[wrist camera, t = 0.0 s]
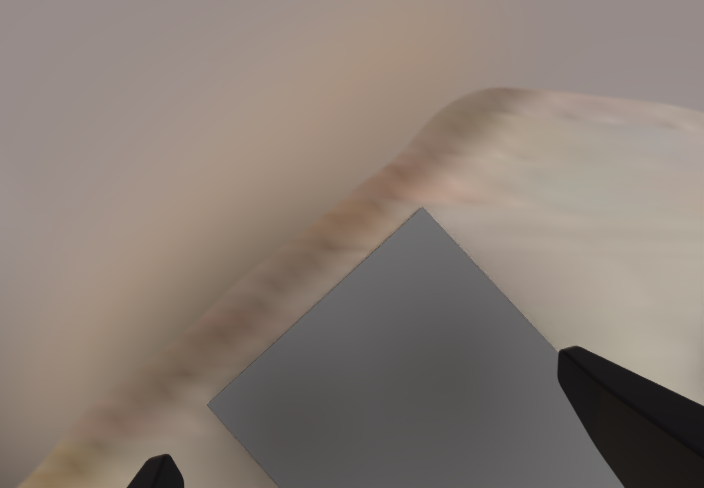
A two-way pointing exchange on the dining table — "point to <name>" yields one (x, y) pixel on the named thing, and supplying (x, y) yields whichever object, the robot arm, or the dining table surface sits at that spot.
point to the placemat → (412, 384)
